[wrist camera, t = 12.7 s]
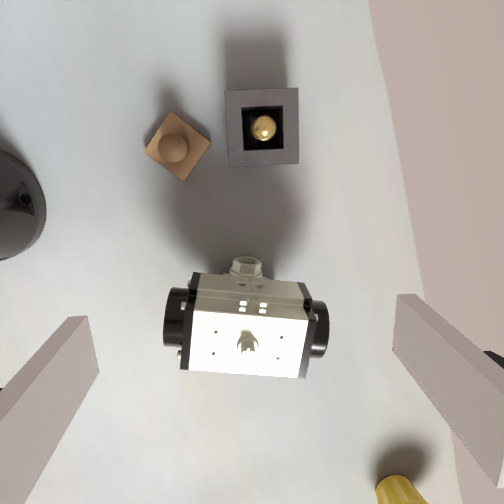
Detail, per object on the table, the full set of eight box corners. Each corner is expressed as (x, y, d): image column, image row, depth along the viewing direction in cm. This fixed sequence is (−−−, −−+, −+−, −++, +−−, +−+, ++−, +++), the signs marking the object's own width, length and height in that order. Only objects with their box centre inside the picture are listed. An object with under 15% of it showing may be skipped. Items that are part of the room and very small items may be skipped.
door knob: (224, 134, 45) (222, 133, 37) (254, 91, 44) (259, 80, 36) (263, 165, 47) (270, 171, 38) (293, 124, 45) (307, 121, 37)
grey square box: (229, 164, 45) (229, 167, 40) (225, 96, 43) (224, 90, 38) (291, 160, 45) (298, 163, 41) (290, 93, 43) (298, 87, 38)
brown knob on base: (146, 151, 45) (135, 153, 40) (172, 112, 44) (164, 108, 39) (185, 179, 47) (179, 185, 42) (211, 142, 46) (208, 142, 40)
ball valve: (308, 259, 51) (345, 319, 34) (298, 311, 54) (329, 391, 37) (183, 246, 50) (159, 302, 33) (180, 301, 52) (155, 379, 35)
